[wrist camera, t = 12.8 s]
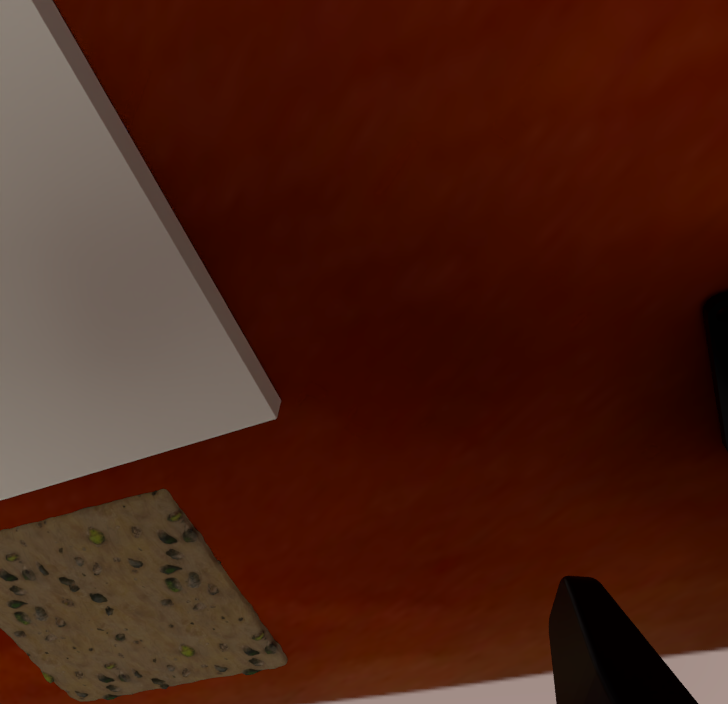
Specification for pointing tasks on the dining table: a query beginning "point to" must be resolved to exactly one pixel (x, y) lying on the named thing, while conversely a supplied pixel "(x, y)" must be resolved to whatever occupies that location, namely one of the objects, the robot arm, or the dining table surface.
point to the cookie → (126, 601)
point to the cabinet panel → (98, 283)
